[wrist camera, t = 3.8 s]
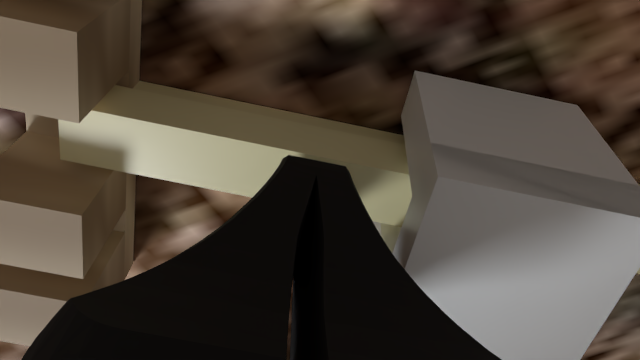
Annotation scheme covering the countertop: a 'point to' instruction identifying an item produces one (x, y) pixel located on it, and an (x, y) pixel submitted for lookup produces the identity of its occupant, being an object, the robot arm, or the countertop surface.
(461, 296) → the sleeve
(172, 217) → the countertop surface
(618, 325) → the countertop surface
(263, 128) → the pale yellow bar
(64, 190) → the comb
